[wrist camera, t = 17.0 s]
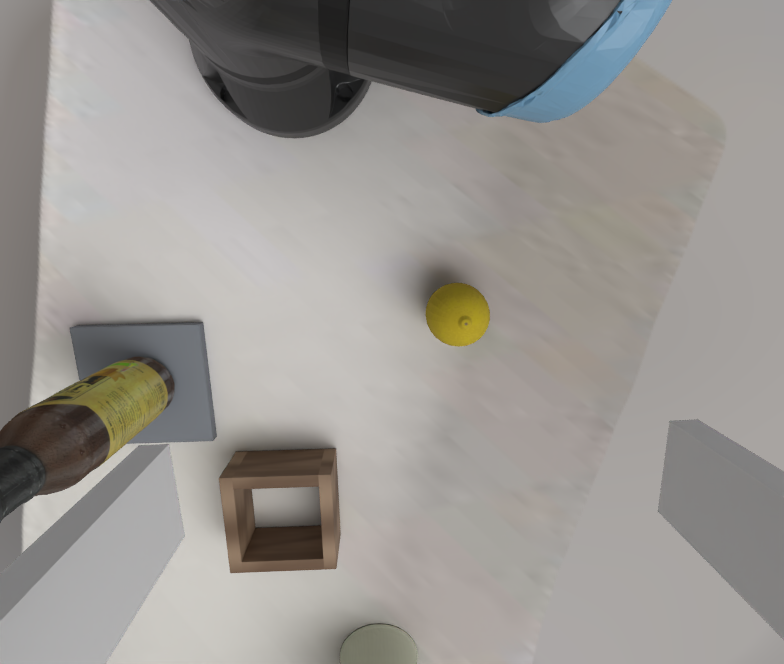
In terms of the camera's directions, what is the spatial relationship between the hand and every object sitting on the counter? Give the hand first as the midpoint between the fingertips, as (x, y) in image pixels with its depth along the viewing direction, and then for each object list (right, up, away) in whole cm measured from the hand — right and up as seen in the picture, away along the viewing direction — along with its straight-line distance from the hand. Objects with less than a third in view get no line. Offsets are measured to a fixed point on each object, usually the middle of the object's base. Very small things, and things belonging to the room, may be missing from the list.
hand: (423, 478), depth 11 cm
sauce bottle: (-25, -1, +31) cm, 40 cm away
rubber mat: (-25, -1, +32) cm, 40 cm away
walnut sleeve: (-12, -13, +35) cm, 39 cm away
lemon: (+5, +6, +31) cm, 32 cm away
